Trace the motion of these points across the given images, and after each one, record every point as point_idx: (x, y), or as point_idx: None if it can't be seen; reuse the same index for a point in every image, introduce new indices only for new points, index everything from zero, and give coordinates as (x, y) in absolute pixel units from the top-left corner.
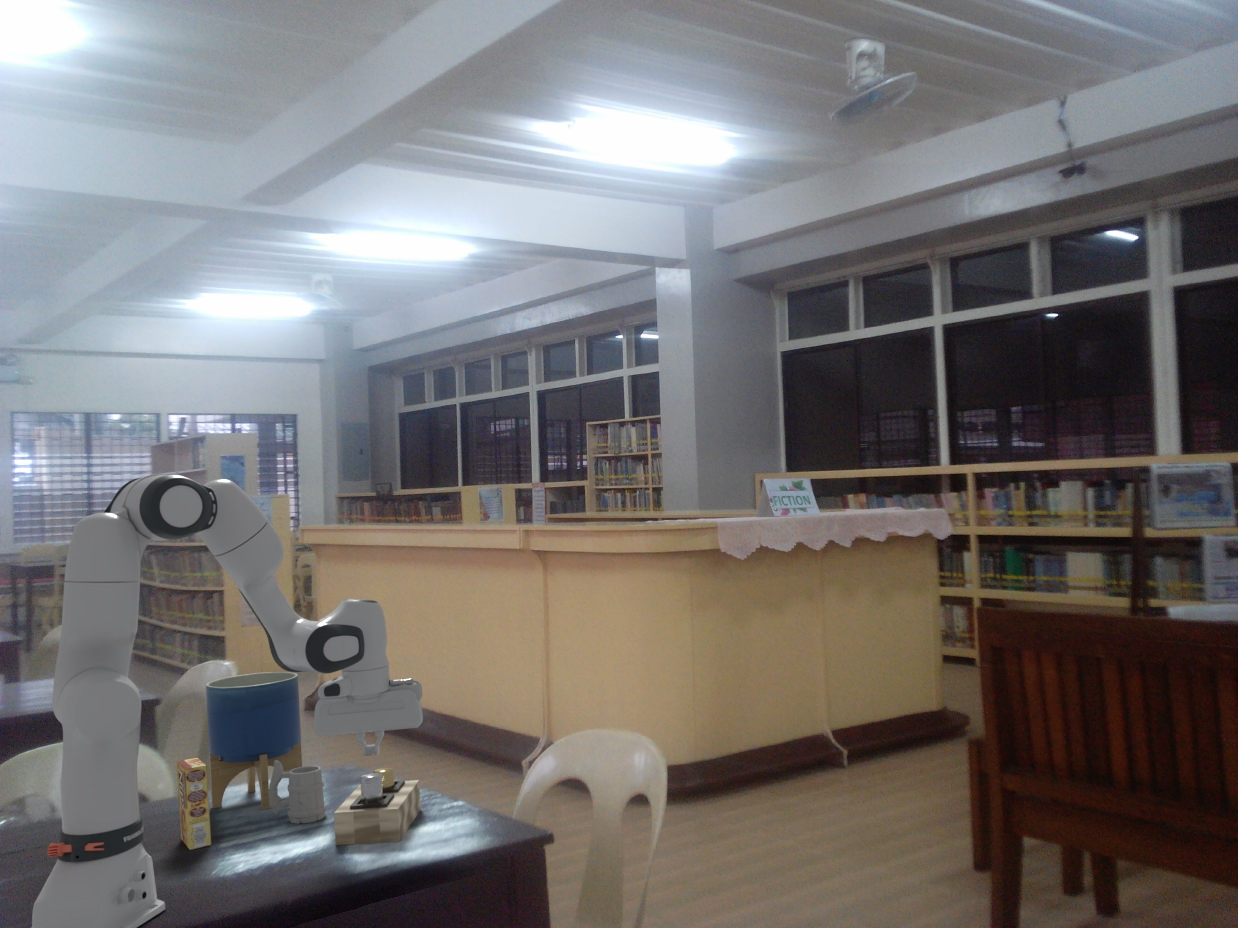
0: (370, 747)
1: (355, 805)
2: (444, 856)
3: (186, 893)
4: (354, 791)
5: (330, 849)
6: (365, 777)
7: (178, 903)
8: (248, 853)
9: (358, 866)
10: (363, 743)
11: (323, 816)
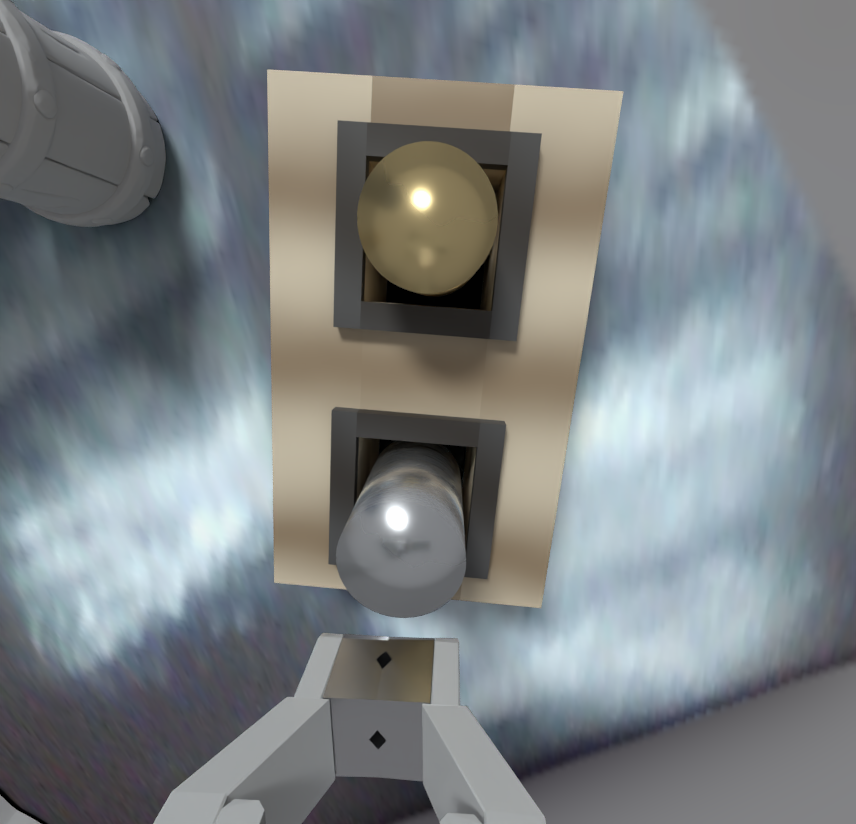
0: (385, 764)
1: None
2: (659, 697)
3: (46, 758)
4: (275, 250)
5: None
6: (372, 583)
7: (62, 805)
8: (58, 519)
9: None
10: (304, 814)
11: (162, 163)
